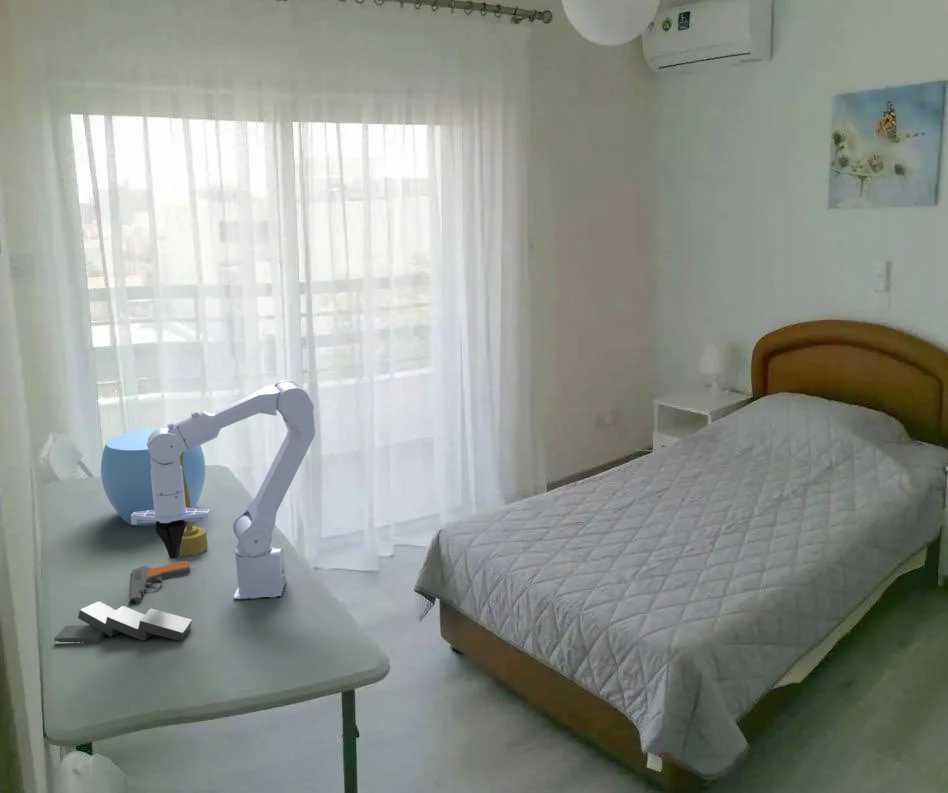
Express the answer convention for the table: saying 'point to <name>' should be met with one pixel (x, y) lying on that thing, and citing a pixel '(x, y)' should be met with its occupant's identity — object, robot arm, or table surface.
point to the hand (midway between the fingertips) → (174, 556)
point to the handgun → (153, 578)
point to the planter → (142, 473)
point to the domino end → (80, 634)
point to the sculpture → (191, 529)
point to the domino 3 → (165, 624)
